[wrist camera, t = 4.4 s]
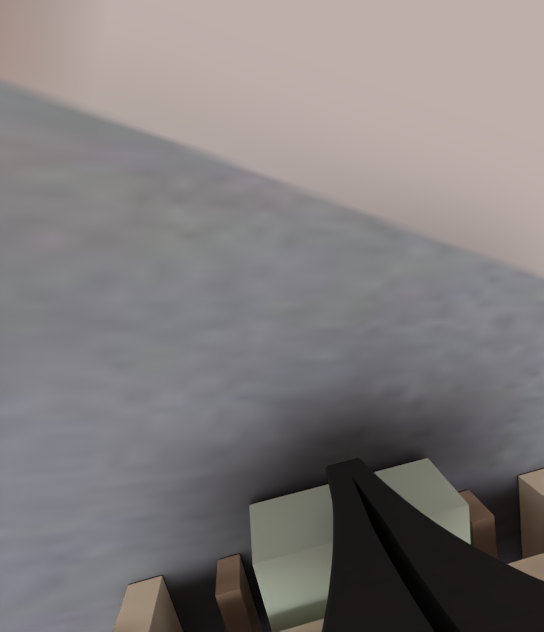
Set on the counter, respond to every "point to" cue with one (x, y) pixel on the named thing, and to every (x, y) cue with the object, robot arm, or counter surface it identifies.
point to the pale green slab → (331, 539)
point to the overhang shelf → (244, 626)
